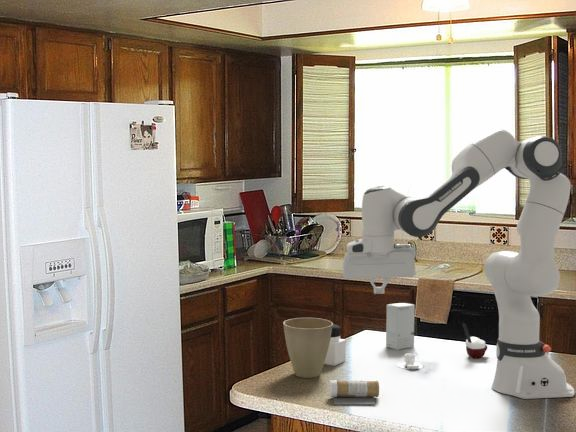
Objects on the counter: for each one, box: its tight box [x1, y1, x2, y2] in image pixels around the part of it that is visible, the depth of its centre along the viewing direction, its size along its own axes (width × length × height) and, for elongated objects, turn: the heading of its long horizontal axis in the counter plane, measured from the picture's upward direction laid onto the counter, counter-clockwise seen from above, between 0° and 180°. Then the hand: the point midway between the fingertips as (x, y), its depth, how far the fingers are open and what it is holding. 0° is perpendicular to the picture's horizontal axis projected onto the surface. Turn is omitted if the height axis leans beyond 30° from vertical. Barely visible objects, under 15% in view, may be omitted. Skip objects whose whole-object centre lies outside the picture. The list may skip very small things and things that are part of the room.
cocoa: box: [461, 322, 488, 360], centre depth 274 cm, size 10×6×12 cm, turn 94°
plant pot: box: [282, 317, 334, 379], centre depth 254 cm, size 15×15×16 cm
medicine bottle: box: [323, 323, 346, 367], centre depth 268 cm, size 7×7×12 cm
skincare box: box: [385, 302, 416, 351], centre depth 288 cm, size 8×6×15 cm
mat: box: [333, 397, 376, 407], centre depth 233 cm, size 11×17×1 cm, turn 178°
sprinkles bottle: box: [328, 379, 380, 398], centre depth 231 cm, size 5×5×14 cm
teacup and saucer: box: [396, 352, 424, 370], centre depth 264 cm, size 9×8×4 cm
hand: (379, 293), depth 236 cm, fingers closed
